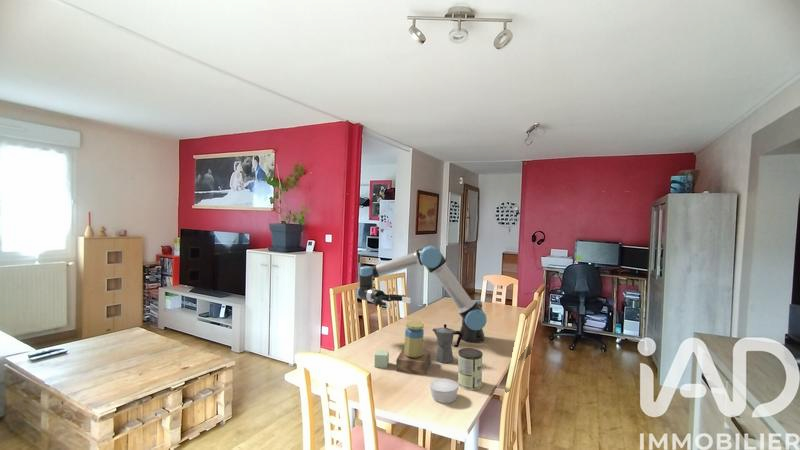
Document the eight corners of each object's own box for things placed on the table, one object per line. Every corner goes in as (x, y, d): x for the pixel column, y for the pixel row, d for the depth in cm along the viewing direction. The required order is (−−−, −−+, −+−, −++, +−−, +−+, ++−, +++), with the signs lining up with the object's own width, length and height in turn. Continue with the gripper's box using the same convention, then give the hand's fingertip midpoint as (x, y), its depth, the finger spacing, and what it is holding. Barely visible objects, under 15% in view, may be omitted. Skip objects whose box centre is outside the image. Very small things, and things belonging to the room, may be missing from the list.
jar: (406, 359, 161) (408, 327, 160) (401, 350, 170) (403, 321, 169) (425, 358, 163) (427, 327, 162) (419, 350, 172) (421, 320, 171)
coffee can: (461, 377, 156) (461, 346, 156) (484, 382, 152) (484, 350, 152) (454, 387, 147) (455, 354, 147) (479, 392, 143) (479, 358, 142)
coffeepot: (429, 360, 174) (429, 325, 174) (434, 354, 182) (435, 320, 182) (459, 366, 168) (460, 329, 168) (463, 359, 177) (464, 324, 177)
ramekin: (426, 401, 135) (426, 388, 135) (433, 388, 145) (434, 376, 145) (454, 407, 131) (454, 393, 131) (460, 393, 141) (460, 381, 141)
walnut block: (430, 363, 172) (430, 351, 172) (425, 375, 158) (426, 362, 158) (402, 360, 175) (403, 348, 175) (396, 372, 161) (396, 359, 161)
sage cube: (388, 362, 171) (388, 350, 171) (386, 368, 165) (387, 355, 165) (376, 362, 171) (376, 350, 171) (374, 367, 165) (374, 354, 165)
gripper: (393, 299, 202) (418, 306, 185) (357, 306, 185) (381, 314, 169) (393, 286, 201) (418, 292, 185) (357, 292, 185) (381, 299, 169)
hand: (400, 303), depth 177 cm, fingers open, 13 cm apart
